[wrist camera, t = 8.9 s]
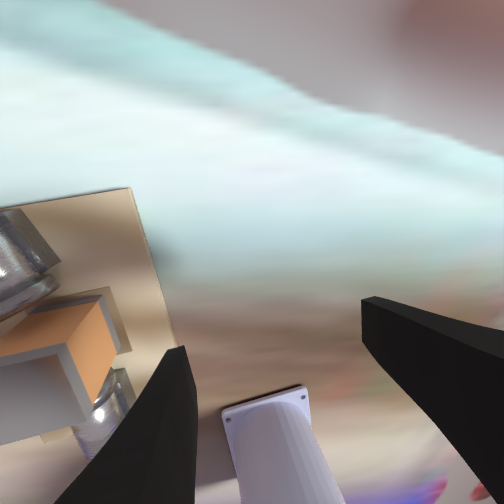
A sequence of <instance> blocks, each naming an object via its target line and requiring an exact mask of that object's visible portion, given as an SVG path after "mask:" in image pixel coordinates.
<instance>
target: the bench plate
mask: <svg viewBox="0 0 504 504" xmlns="http://www.w3.org/2000/svg"><path fill="white" fill-rule="evenodd" d="M20 208H21V209H22V211H23V212H24V213H25V214H26V216H27V217H28V218H29V220H30V221H31V222H32V224H33V225H34V226H35V227H36V229H37V230H38V231H39V233H40V234H41V235H42V237H43V238H44V239H45V240H46V242H47V243H48V244H49V246H50V247H51V248H52V250H53V251H54V252H55V253H56V255H57V256H58V257H59V259H60V260H61V262H59V263H58V264H56V265H54V266H53V267H51V268H50V269H48V270H46V271H44V272H42V273H41V275H42V276H44V275H47V274H50V273H51V274H52V275H53V276H54V277H55V279H56V280H57V281H58V282H59V284H60V286H59V288H57V289H56V290H55V291H54V292H52V293H51V294H49V295H48V296H46V297H45V298H43V299H42V300H40V301H39V302H37V303H35V304H34V305H32V306H30V307H29V308H27V309H25V310H23V311H22V312H20V313H18V314H16V315H14V316H12V317H10V318H8V319H6V320H4V321H2V322H0V339H1V338H2V337H3V336H4V335H5V334H7V333H8V332H9V331H10V330H11V329H13V328H14V327H15V326H16V325H17V324H18V323H20V322H21V321H22V320H23V319H24V318H26V317H27V314H29V313H30V312H31V311H32V310H33V309H35V308H39V307H44V306H49V305H54V304H59V303H64V302H69V301H74V300H78V299H83V298H88V297H93V296H98V295H103V297H104V299H105V302H106V305H107V308H108V311H109V313H110V316H111V319H112V322H113V325H114V327H115V330H116V333H117V336H118V339H119V341H120V344H121V347H120V349H119V352H118V353H116V356H115V358H114V360H113V362H112V365H111V367H112V368H113V370H117V369H121V368H125V369H126V371H127V374H128V377H129V379H130V382H131V385H132V387H133V390H134V392H135V395H136V398H138V397H139V395H140V394H141V392H142V390H143V389H144V387H145V386H146V384H147V382H148V381H149V379H150V378H151V376H152V374H153V373H154V371H155V369H156V368H157V366H158V364H159V362H160V361H161V359H162V357H163V356H164V354H165V352H166V351H167V350H168V349H172V348H176V347H178V346H177V343H176V339H175V336H174V332H173V329H172V325H171V322H170V319H169V315H168V312H167V308H166V305H165V302H164V298H163V295H162V291H161V288H160V284H159V281H158V278H157V274H156V271H155V267H154V264H153V261H152V257H151V254H150V250H149V247H148V243H147V240H146V237H145V233H144V230H143V226H142V223H141V219H140V216H139V213H138V209H137V206H136V202H135V199H134V196H133V192H132V189H131V188H127V189H121V190H115V191H108V192H102V193H96V194H90V195H84V196H78V197H71V198H65V199H59V200H53V201H47V202H41V203H34V204H28V205H22V206H16V207H10V208H3V209H0V213H1V212H5V211H10V210H15V209H20ZM70 435H73V432H72V430H71V428H70V427H66V428H62V429H59V430H55V431H52V432H48V433H44V434H41V435H40V437H41V439H42V440H43V442H44V443H46V442H49V441H53V440H56V439H60V438H63V437H66V436H70Z"/></svg>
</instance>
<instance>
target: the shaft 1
mask: <svg viewBox="0 0 504 504" xmlns="http://www.w3.org/2000/svg"><path fill="white" fill-rule="evenodd" d="M59 262H61V260H60V259H59V257H58V256H57V255H56V253H55V252H54V251H53V250H52V248H51V247H50V246H49V244H48V243H47V242H46V240H45V239H44V238H43V237H42V235H41V234H40V233H39V231H38V230H37V229H36V227H35V226H34V225H33V224H32V222H31V221H30V220H29V218H28V217H27V216H26V214H25V213H24V212H23V211H22V209H21V208H20V209H15V210H10V211H5V212H1V213H0V322H2V321H4V320H6V319H8V318H10V317H12V316H14V315H16V314H18V313H20V312H22V311H23V310H25V309H27V308H29V307H30V306H32V305H34V304H35V303H37V302H39V301H40V300H42V299H43V298H45V297H46V296H48V295H49V294H51V293H52V292H54V291H55V290H56V289H57V288H59V286H60V284H59V282H58V281H57V280H56V279H55V277H54V276H53V275H52V274H51V273H50V274H47V275H44V276H42V275H41V273H42V272H44V271H46V270H48V269H50V268H51V267H53V266H54V265H56V264H58V263H59Z"/></svg>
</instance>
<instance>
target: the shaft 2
mask: <svg viewBox="0 0 504 504" xmlns="http://www.w3.org/2000/svg"><path fill="white" fill-rule="evenodd" d="M136 400H137V398H136V395H135V392H134V390H133V387H132V385H131V382H130V379H129V377H128V374H127V371H126V369H125V368H121V369H117V370H113V368H112V367H110V369H109V371H108V374H107V376H106V378H105V380H104V383H103V385H102V387H101V389H100V392H99V394H98V396H97V398H96V401H95V403H94V405H93V407H94V409H93V411H92V413H91V416H90V418H89V420H88V422H84V423H81V424H77V425H73V426H70V428H71V430H72V432H73V434H74V436H75V438H76V440H77V442H78V444H79V446H80V448H81V449H82V451H83V453H84V455H85V457H87V458H89V459H93V458H94V457H95V456H96V454H97V453H98V452H99V451H100V449H101V448H102V447H103V446H104V445H105V443H106V442H107V441H108V439H109V438H110V437H111V435H112V434H113V433H114V431H115V430H116V429H117V427H118V426H119V425H120V423H121V422H122V420H123V419H124V417H125V416H126V414H127V413H128V412H129V410H130V409H131V407H132V406H133V404H134V403H135V401H136Z"/></svg>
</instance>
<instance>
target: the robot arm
mask: <svg viewBox="0 0 504 504" xmlns="http://www.w3.org/2000/svg"><path fill="white" fill-rule="evenodd" d="M361 314H362V342H363V343H364V345H365V346H366V348H367V349H368V350H369V352H370V353H371V355H372V356H373V357H374V358H375V360H376V361H377V362H378V364H379V365H380V366H381V367H382V368H383V369H384V370H385V371H386V372H387V373H388V374H389V375H390V376H391V377H392V379H393V380H394V381H395V382H396V383H397V384H398V385H399V386H400V387H401V388H402V389H403V390H404V391H405V392H406V393H407V394H408V395H409V396H410V397H411V398H412V399H413V401H414V402H415V403H416V404H417V405H418V406H419V407H420V408H421V409H422V410H423V411H424V412H425V413H426V414H427V415H428V416H429V418H430V419H431V420H432V421H433V422H434V423H435V424H436V425H437V427H438V428H439V429H440V430H441V432H442V433H443V434H444V435H445V437H446V438H447V439H448V440H449V442H450V443H451V444H452V445H453V447H454V448H455V449H456V450H457V451H458V453H459V454H460V455H461V457H463V459H464V460H465V462H466V463H467V464H468V466H469V467H470V468H471V470H472V471H473V472H474V473H475V475H476V476H477V477H478V479H479V480H480V481H481V483H482V484H483V485H484V486H485V488H486V489H487V490H488V492H489V493H490V495H491V496H492V497H493V499H494V500H495V501H496V503H497V504H504V331H502V330H497V329H492V328H488V327H483V326H479V325H475V324H471V323H467V322H463V321H460V320H456V319H452V318H448V317H445V316H441V315H438V314H434V313H431V312H428V311H424V310H421V309H418V308H415V307H411V306H408V305H405V304H402V303H398V302H395V301H392V300H388V299H385V298H381V297H376V296H373V297H370V298H366V299H362V300H361ZM302 395H303V396H302ZM221 415H222V420H223V424H224V428H225V432H226V436H227V440H228V444H229V448H230V452H231V456H232V460H233V464H234V468H235V472H236V475H237V479H238V483H239V490H240V497H241V504H346V503H345V501H344V499H343V496H342V494H341V492H340V490H339V488H338V485H337V483H336V481H335V479H334V477H333V474H332V472H331V470H330V468H329V466H328V464H327V461H326V459H325V457H324V455H323V453H322V450H321V448H320V446H319V444H318V442H317V439H316V437H315V435H314V433H313V431H312V427H311V418H310V409H309V400H308V391H307V389H306V387H305V386H299V387H295V388H292V389H289V390H285V391H282V392H279V393H275V394H272V395H269V396H265V397H262V398H259V399H256V400H252V401H249V402H246V403H242V404H239V405H236V406H232V407H229V408H226V409H224V410H223V411H222V413H221ZM227 418H229V419H227ZM197 432H198V406H197V391H196V385H195V382H194V378H193V375H192V371H191V368H190V364H189V361H188V357H187V354H186V350H185V347H184V345H183V346H179V347H176V348H172V349H168V350H167V351H166V352H165V354H164V356H163V357H162V359H161V361H160V362H159V364H158V366H157V368H156V369H155V371H154V373H153V374H152V376H151V378H150V379H149V381H148V382H147V384H146V386H145V387H144V389H143V390H142V392H141V394H140V395H139V397H138V398H137V400H136V401H135V403H134V404H133V406H132V407H131V409H130V410H129V412H128V413H127V414H126V416H125V417H124V419H123V420H122V422H121V423H120V425H119V426H118V427H117V429H116V430H115V431H114V433H113V434H112V435H111V437H110V438H109V439H108V441H107V442H106V443H105V445H104V446H103V447H102V448H101V449H100V451H99V452H98V453H97V454H96V456H95V457H94V458H93V459H92V461H91V462H90V463H89V464H88V465H87V467H86V468H85V469H84V470H83V471H82V472H81V473H80V475H79V476H78V477H77V478H76V479H75V480H74V481H73V482H72V483H71V485H70V486H69V487H68V488H67V489H66V490H65V491H64V492H63V494H62V495H61V496H60V497H59V498H58V499H57V500H56V501H55V503H54V504H194V503H195V474H196V453H197Z"/></svg>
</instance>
